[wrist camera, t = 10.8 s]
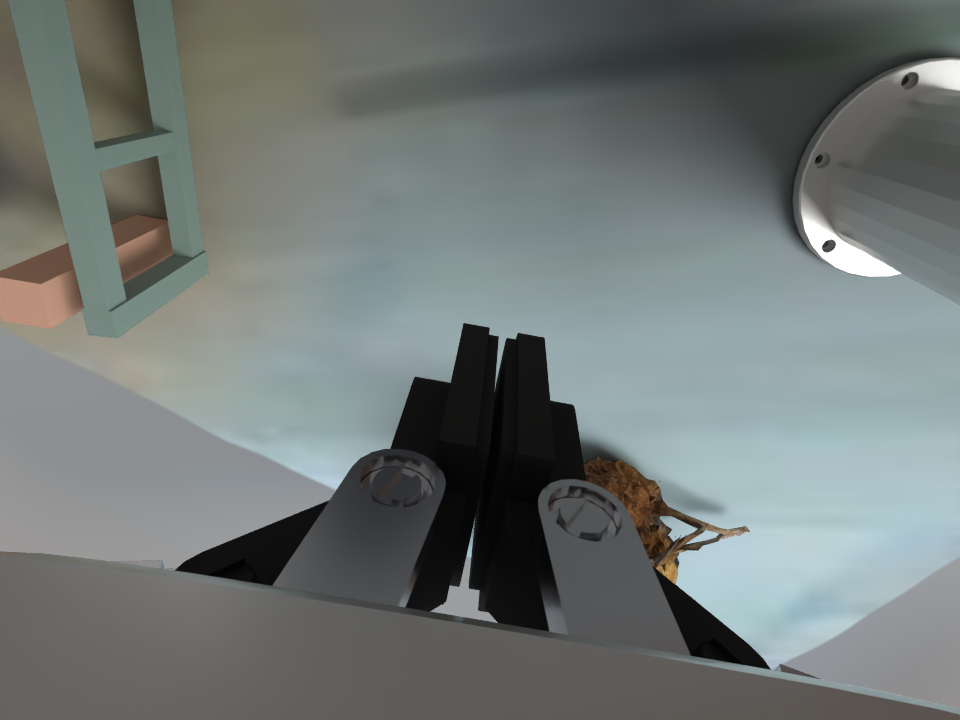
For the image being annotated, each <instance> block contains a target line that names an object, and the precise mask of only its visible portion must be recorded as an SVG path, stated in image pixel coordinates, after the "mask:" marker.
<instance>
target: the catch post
mask: <svg viewBox="0 0 960 720" xmlns="http://www.w3.org/2000/svg"><path fill="white" fill-rule="evenodd" d="M111 228H112V233H113V237H114V242H115V247H116V252H117V257H118V262H119V266H120V271H121V276H122V281H123V284H124V283H125V282H127V281H129V280H130V279H132V278H134V277H136V276H137V275H139V274H141V273H142V272H144V271H146V270H147V269H149V268H151V267H153V266H154V265H156V264H158V263H159V262H161V261H163V260H165V259H166V258H168V257H170V256H171V255H173V250H172V244H171V237H170V231H169V225H168V220H164V219H159V218H153V217H148V216H142V215H133V216H131V217H129V218H126V219H124V220H121V221H119V222H117V223H114V224H112V225H111ZM83 307H84V305H83V301H82V297H81V293H80V289H79V285H78V281H77V276H76V272H75V268H74V264H73V260H72V256H71V252H70V248H69V244H68V243H66V244H64V245H62V246H59V247H57V248H54V249H52V250H50V251H47V252H45V253H42V254H40V255H38V256H35V257H33V258H30V259H28V260H26V261H23V262H21V263H19V264H16V265H14V266H11V267H9V268H7V269H4V270H2V271H0V316H1V320H2V321H8V322H14V323H20V324H26V325H32V326H38V327H43V328H49V329H51V328H53V327H54V326H56V325H58V324H60V323H61V322H63V321H65V320H66V319H68V318H70V317H71V316H73V315H75V314H76V313H78V312H80V311H81V310H82V308H83Z"/></svg>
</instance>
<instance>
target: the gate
mask: <svg viewBox="0 0 960 720" xmlns="http://www.w3.org/2000/svg"><path fill="white" fill-rule="evenodd" d="M133 2H134V8H135V15H136V21H137V28H138V34H139V40H140V47H141V53H142V59H143V66H144V72H145V78H146V85H147V91H148V97H149V104H150V110H151V117H152V123H153V129H154V130H153V131H148V132H143V133H138V134H133V135H128V136H123V137H118V138H113V139H108V140H103V141H98V142H94V141H93V136H92V131H91V127H90V122H89V117H88V112H87V107H86V103H85V98H84V93H83V88H82V83H81V78H80V74H79V69H78V64H77V59H76V54H75V50H74V45H73V40H72V35H71V30H70V25H69V21H68V16H67V11H66V6H65V1H64V0H8V3H9V7H10V11H11V15H12V19H13V23H14V27H15V31H16V35H17V39H18V43H19V47H20V51H21V55H22V59H23V63H24V67H25V71H26V75H27V80H28V84H29V88H30V92H31V96H32V100H33V104H34V108H35V112H36V116H37V120H38V124H39V128H40V132H41V136H42V140H43V144H44V148H45V152H46V156H47V160H48V164H49V168H50V172H51V176H52V180H53V184H54V188H55V192H56V196H57V200H58V204H59V208H60V212H61V216H62V220H63V224H64V228H65V232H66V236H67V240H68V244H69V248H70V252H71V256H72V260H73V264H74V268H75V272H76V276H77V281H78V285H79V289H80V293H81V297H82V301H83V305H84V307H83V308H82V312H83V316H84V320H85V324H86V328H87V332H88V335H93V336H101V337H110V338H119V337H120V336H122V335H123V334H124V333H126V332H127V331H129V330H130V329H131V328H133V327H134V326H135V325H137V324H138V323H140V322H141V321H142V320H144V319H145V318H147V317H148V316H149V315H151V314H152V313H154V312H155V311H156V310H158V309H159V308H160V307H162V306H163V305H165V304H166V303H167V302H169V301H170V300H172V299H173V298H174V297H176V296H177V295H179V294H180V293H181V292H183V291H184V290H185V289H187V288H188V287H190V286H191V285H192V284H194V283H195V282H197V281H198V280H199V279H201V278H202V277H204V276H205V275H206V274H208V273H209V272H208V264H207V256H206V251H204V250H203V243H202V235H201V227H200V220H199V212H198V204H197V196H196V189H195V181H194V173H193V166H192V158H191V150H190V143H189V135H188V127H187V119H186V112H185V104H184V96H183V89H182V81H181V73H180V65H179V58H178V50H177V42H176V35H175V27H174V19H173V11H172V4H171V0H133ZM154 156H158V161H159V167H160V174H161V180H162V186H163V193H164V199H165V206H166V212H167V218H168V225H169V231H170V237H171V244H172V250H173V255H171V256H170V257H168V258H166V259H165V260H163V261H161V262H159V263H158V264H156V265H154V266H153V267H151V268H149V269H147V270H146V271H144V272H142V273H141V274H139V275H137V276H136V277H134V278H132V279H130V280H129V281H127V282H125V283H124V284H123V281H122V276H121V271H120V266H119V262H118V257H117V252H116V247H115V242H114V237H113V233H112V228H111V223H110V218H109V213H108V209H107V204H106V199H105V194H104V189H103V184H102V180H101V175H100V171H103V170H107V169H110V168H114V167H118V166H121V165H125V164H129V163H132V162H136V161H140V160H143V159H147V158H151V157H154Z"/></svg>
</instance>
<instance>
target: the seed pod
mask: <svg viewBox="0 0 960 720" xmlns="http://www.w3.org/2000/svg"><path fill="white" fill-rule="evenodd" d="M584 470H585V476H586V481H587V482H590V483H592V484H595V485H597V486H600V487H602V488H604V489H605V490H607V491H608V492H610V493H612V494H613V495H614V496H615V497H616V498H618V499H619V500H620V501H621V502H622V503H623V504H624V506H625V507H626V509H627V511H628V512H629V514H630V516H631V518H632V520H633V523H634V525H635V527H636V530H637V532H638V534H639V537H640V539H641V541H642V544H643V546H644V548H645V551H646V553H647V555H648V557H649V560H650V562H651V564H652V566H653V567H655V568H656V569H657V570H658V571H659V572H661V573H662V574H663V575H664V576H666V577H667V578H668V579H669V580H670V581H672V582H673V583H674V584H675V583H676V579H677V576H678V571H677V569H678V565H679V561H678V559H677V556H678V555H679V552H684V551H686V550H699V549H700V548H701V547H702V546H703V545H707V544H710V543H714V542H717V541H719V540H720V539H724V538H728V537H731V536H734V535H738V536H740V535H741V534H743V533H745V532H750V531H749V530H748V528H747V527H746V526H744V527H739V528H734V529H728V530H727V529H722V528H718V527H715V526H713V525H710V524H708V523H705V522H703V521H700V520H697V519H695V518H692V517H690V516H687V515H685V514H683V513H680V512H678V511H676V510H674V509H672V508H670V507H668V506H667V505H666V503H665V502H664V501H663V500H662V495H661V491H660V487H659V486H658V485H657V483H656V482H655V481H654V480H648V479H646V478H645V477H644V476H643V475H642V474H641V473H639V472H638V471H637V470H636V469H635V468H634V467H631V466H629V465H627V463H624V462H623V461H622V460H620V459H619V460H618V461H617V462H611V461H609V460H605V461H604V462H603V461H602V460H601V459H600V457H599V456H597V459H596V461H594V460H590V461H588V462H587V463H586V464H584ZM659 482H660V481H659ZM660 516H672V517H674V518H676V519H679V520H681V521H683V522H685V523H687V524H689V525H691V526H693V527H695V528H697V530H696V531H695V532H694V533H692V534H690V535H688V536H685V537H683V538H681V539H680V537H679V538H678V539H677V540H676V541H674V542H673V540H672V539H671V538H670V537H669V536H668V534H669V533H670V532H671V530H672V529H671V528H669V527H667V526H666V525H665V524H664V523H663V522H662V521H661V520H660V518H659V517H660ZM705 530H708V531H712V532H717V533H720V534H719V535H718V536H717V537H716V538H713V539H710V540H706V541H701V542H696V543H691V544H686V543H687V542H689V541H690V540H692V539H693V538H694V537H696V536H698V535H700V534H701V533H703V532H704V531H705ZM680 536H681V535H680ZM675 537H676V536H675ZM684 544H686V545H684Z"/></svg>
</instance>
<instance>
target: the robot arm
mask: <svg viewBox="0 0 960 720" xmlns="http://www.w3.org/2000/svg"><path fill="white" fill-rule="evenodd" d="M903 78H904V80H903V82H902V79H903ZM901 83H902V84H901ZM818 155H819V159H818V160H817V161H816V162H815V159H816V157H817V156H818ZM792 201H793V211H794V219H795V222H796V225H797V228H798V231H799V234H800V236H801V237H802V239H803V241H804V242H805V244H806V245H807V247H808V248H809V249H810V250H811V251H812V252H813V253H814V254H815V255H816V256H817V257H818V258H819V259H821V260H822V261H824V262H826V263H827V264H829V265H830V266H832V267H833V268H836V269H838V270H841V271H843V272H845V273H848V274H852V275H858V276H863V277H888V276H894V275H900V274H903V275H905V276H907V277H909V278H911V279H912V280H914V281H916V282H918V283H920V284H922V285H924V286H926V287H927V288H929V289H931V290H933V291H935V292H937V293H939V294H940V295H942V296H944V297H946V298H948V299H950V300H952V301H954V302H955V303H957V304H959V305H960V58H950V57H949V58H928V59H923V60H919V61H914V62H909V63H905V64H903V65H900V66H898V67H895V68H893V69H890V70H888V71H885V72H883V73H881V74H879V75H878V76H876V77H874V78H873V79H871V80H869V81H868V82H866V83H864V84H863V85H861V86H860V87H858V88H857V89H856V90H855V91H854V92H852V93H851V94H850V95H849V96H847V97H846V98H845V99H844V100H843V101H841V102H840V103H839V104H838V106H837V107H836V108H835V109H834V110H833V111H832V112H831V113H830V114H829V115H828V116H827V117H826V119H825V120H824V121H823V122H822V124H821V125H820V127H819V128H818V130H817V131H816V133H815V134H814V135H813V137H812V138H811V140H810V142H809V144H808V146H807V148H806V150H805V152H804V154H803V156H802V158H801V161H800V164H799V167H798V171H797V174H796V177H795V181H794V190H793V200H792ZM824 242H825V243H824ZM823 243H824V244H823ZM822 244H823V245H822ZM498 339H499V336H493V335H489V328H488V327H482V326H477V325H471V324H466V323H464V324H463V329H462V333H461V338H460V343H459V347H458V352H457V357H456V361H455V366H454V371H453V375H452V380H451V383H448V382H442V381H437V380H431V379H425V378H420V377H415V378H414V380H413V383H412V386H411V389H410V392H409V395H408V398H407V401H406V404H405V407H404V410H403V413H402V416H401V419H400V422H399V425H398V428H397V431H396V434H395V437H394V440H393V443H392V446H391V449H383V450H379V451H375V452H371V453H370V454H368V455H366V456H364V457H362V458H360V459H359V460H358V461H357V462H356V463H355V464H354V465H353V466H352V468H351V469H350V471H349V472H348V474H347V475H346V477H345V478H344V480H343V481H342V483H341V484H340V486H339V487H338V489H337V490H336V492H335V493H334V495H333V496H332V498H331V499H330V500H329V501H326V502H324V503H322V504H319V505H317V506H314V507H312V508H310V509H307V510H304V511H302V512H299V513H297V514H295V515H292V516H290V517H287V518H285V519H282V520H280V521H277V522H275V523H272V524H270V525H268V526H265V527H263V528H260V529H258V530H255V531H253V532H250V533H248V534H246V535H243V536H241V537H238V538H236V539H233V540H231V541H228V542H226V543H224V544H221V545H219V546H216V547H214V548H211V549H209V550H206V551H204V552H202V553H200V554H198V555H196V556H194V557H192V558H190V559H189V560H187V561H185V562H184V563H183V564H181V565H180V566H179V567H178V568H167V569H164V565H163V560H147V561H145V560H144V561H103V560H94V559H85V558H77V557H68V556H60V555H52V554H43V553H23V552H0V720H960V709H959V708H956V707H952V706H949V705H945V704H940V703H935V702H931V701H926V700H921V699H917V698H912V697H907V696H903V695H898V694H893V693H889V692H884V691H880V690H875V689H870V688H865V687H860V686H855V685H850V684H845V683H838V682H833V681H828V680H822V679H819V678H816V677H814V676H811V675H809V674H806V673H803V672H800V671H798V670H795V669H793V668H790V667H787V666H785V665H782V664H779V666H778V667H777V668H776V670H771V669H770V668H769V666H768V665H767V663H766V662H765V661H764V659H763V658H762V657H761V656H760V655H759V654H758V653H757V652H756V651H755V650H754V649H753V648H752V647H751V646H750V645H749V644H748V643H746V642H745V641H744V640H743V639H741V638H740V637H739V636H738V635H737V634H735V633H734V632H733V631H732V630H730V629H729V628H728V627H727V626H726V625H724V624H723V623H722V622H721V621H719V620H718V619H717V618H716V617H715V616H713V615H712V614H711V613H710V612H708V611H707V610H706V609H705V608H703V607H702V606H701V605H700V604H699V603H697V602H696V601H695V600H694V599H692V598H691V597H690V596H689V595H688V594H686V593H685V592H684V591H683V590H681V589H680V588H679V587H678V586H677V585H675V584H674V583H673V582H672V581H670V580H669V579H668V578H667V577H666V576H664V575H663V574H662V573H661V572H659V571H658V570H657V569H656V568H655V567H653V566H652V564H651V562H650V560H649V557H648V555H647V553H646V551H645V548H644V546H643V544H642V541H641V539H640V537H639V534H638V532H637V530H636V527H635V525H634V523H633V520H632V518H631V516H630V514H629V512H628V511H627V509H626V507H625V506H624V504H623V503H622V502H621V501H620V500H619V499H618V498H616V497H615V496H614V495H613V494H612V493H610V492H608V491H607V490H605V489H604V488H602V487H600V486H597V485H595V484H592V483H590V482H587V481H586V476H585V470H584V464H583V457H582V451H581V444H580V438H579V432H578V425H577V419H576V413H575V408H574V406H573V405H571V404H566V403H560V402H554V401H550V394H549V382H548V371H547V360H546V348H545V339H544V338H543V337H538V336H532V335H527V334H521V333H518V334H517V337H516V340H515V339H510V338H507V339H506V342H505V346H504V351H503V355H502V360H501V365H500V369H499V374H498V379H497V383H496V388H495V377H496V364H497V351H498ZM494 390H495V393H494ZM475 515H476V516H475ZM474 519H475V527H474V537H473V547H472V557H471V568H470V578H469V589H475V590H480V594H479V606H478V610H479V611H484V612H489V613H490V614H491V615H492V616H493V617H494V619H495V620H496V621H497V622H498V623H494V622H489V621H483V620H477V619H471V618H464V617H459V616H453V615H447V614H441V613H435V612H430V611H432V610H433V609H435V608H436V607H438V606H440V605H441V604H442V605H443V604H444V602H446V599H447V595H448V590H449V585H451V586H458V587H459V586H460V582H461V577H462V573H463V568H464V563H465V559H466V555H467V551H468V546H469V542H470V537H471V533H472V528H473V524H474Z"/></svg>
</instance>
